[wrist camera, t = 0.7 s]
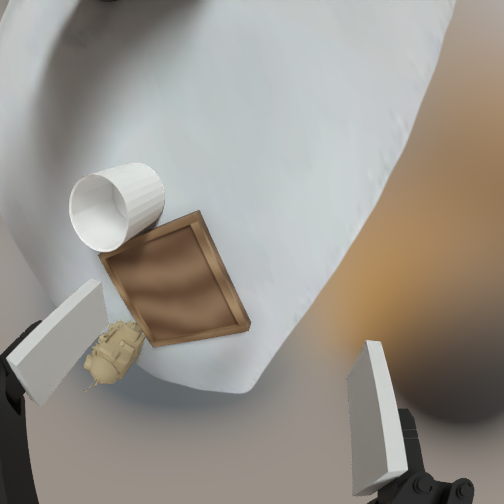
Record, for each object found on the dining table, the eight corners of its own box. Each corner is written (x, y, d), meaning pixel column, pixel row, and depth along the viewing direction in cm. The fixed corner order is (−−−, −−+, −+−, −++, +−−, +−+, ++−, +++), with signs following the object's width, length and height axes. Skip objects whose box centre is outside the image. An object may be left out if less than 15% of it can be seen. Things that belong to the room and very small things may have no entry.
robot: (111, 303, 45) (62, 357, 32) (149, 327, 46) (107, 388, 32) (104, 337, 50) (64, 388, 36) (138, 359, 50) (103, 414, 37)
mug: (167, 164, 34) (128, 177, 25) (165, 230, 38) (130, 259, 29) (96, 160, 35) (52, 171, 27) (98, 218, 39) (57, 241, 30)
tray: (105, 249, 41) (98, 255, 39) (199, 209, 36) (193, 214, 34) (157, 339, 46) (152, 346, 45) (251, 322, 41) (248, 330, 40)
